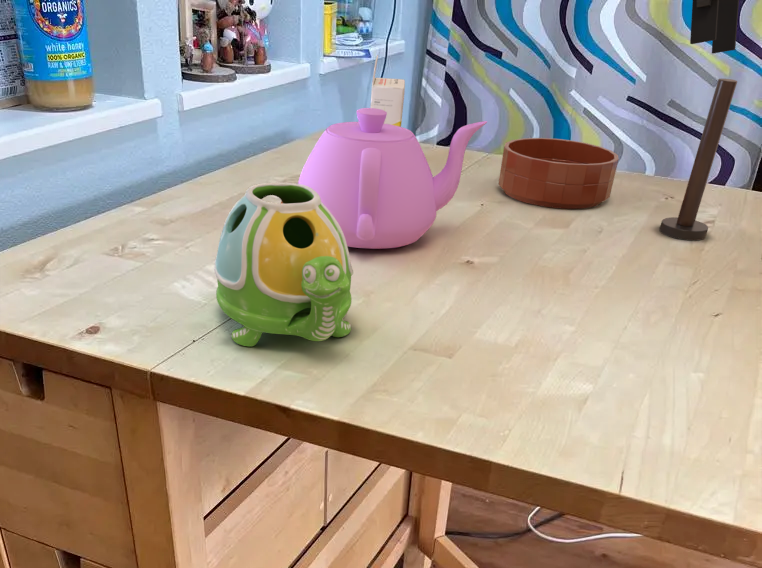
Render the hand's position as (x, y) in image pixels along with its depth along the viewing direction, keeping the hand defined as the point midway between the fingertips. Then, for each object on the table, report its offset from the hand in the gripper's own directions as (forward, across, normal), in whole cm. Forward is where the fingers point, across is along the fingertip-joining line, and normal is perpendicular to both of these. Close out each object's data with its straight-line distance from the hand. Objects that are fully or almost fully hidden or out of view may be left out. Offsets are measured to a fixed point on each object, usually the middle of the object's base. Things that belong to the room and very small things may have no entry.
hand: (713, 47), depth 99 cm
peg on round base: (+21, +1, -2) cm, 21 cm away
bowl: (+15, -4, -22) cm, 27 cm away
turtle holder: (+24, +60, -25) cm, 69 cm away
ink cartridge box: (+9, 0, -48) cm, 49 cm away
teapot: (+18, +30, -32) cm, 47 cm away
